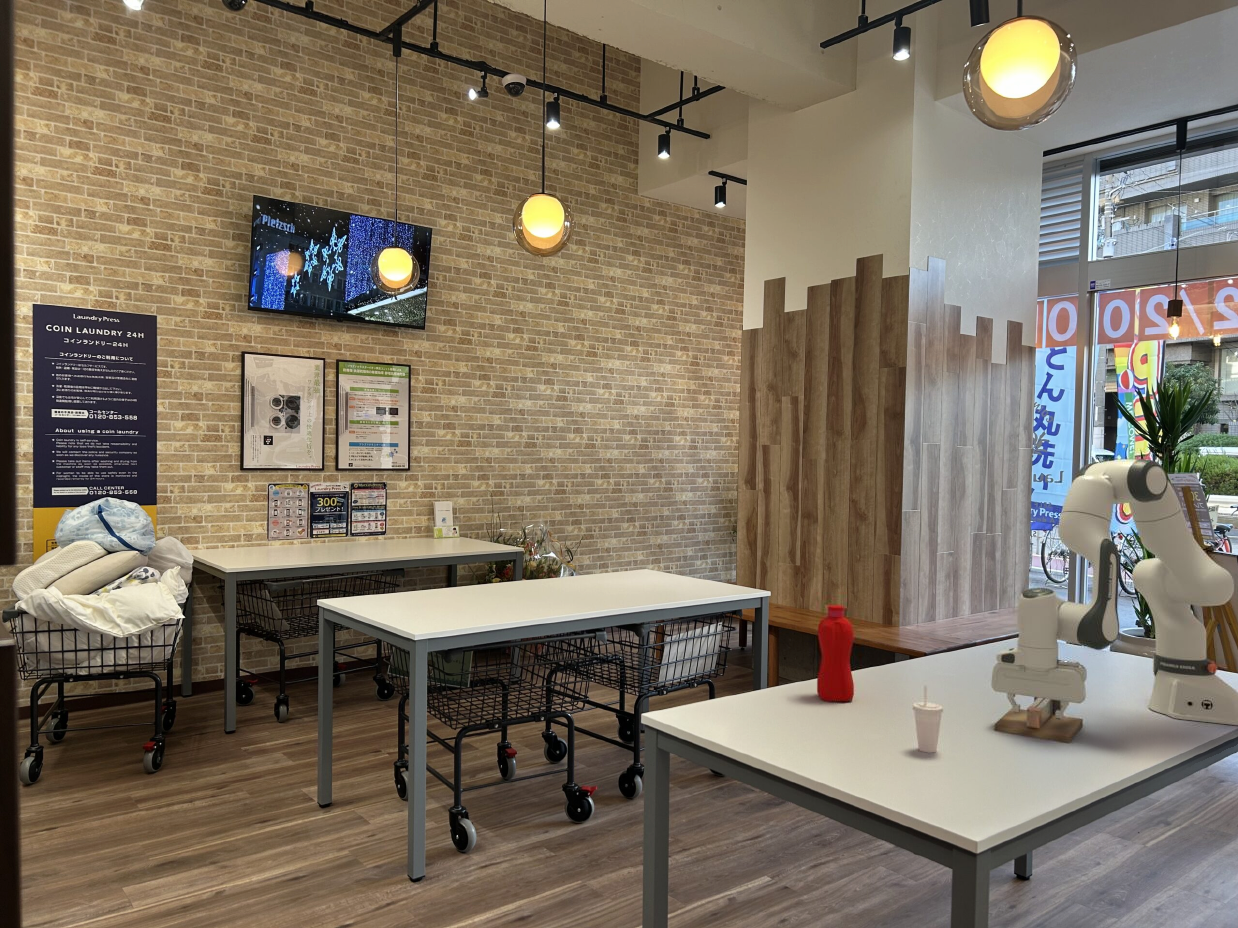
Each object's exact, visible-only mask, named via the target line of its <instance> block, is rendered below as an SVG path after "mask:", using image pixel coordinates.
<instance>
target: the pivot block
mask: <svg viewBox="0 0 1238 928" xmlns="http://www.w3.org/2000/svg"><path fill="white" fill-rule="evenodd" d="M1037 698H1038V697H1033V702H1034V701H1035V700H1036V699H1037ZM1063 706H1064V705H1063ZM1063 706H1062V705H1061V701H1059V700H1053V714H1054V715H1055V712H1056V711H1057V710H1059V711H1060V710H1061V709H1062V707H1063Z"/></svg>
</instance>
